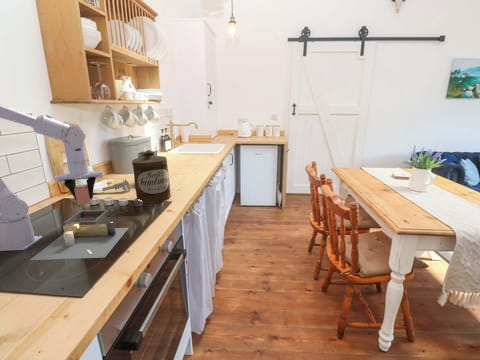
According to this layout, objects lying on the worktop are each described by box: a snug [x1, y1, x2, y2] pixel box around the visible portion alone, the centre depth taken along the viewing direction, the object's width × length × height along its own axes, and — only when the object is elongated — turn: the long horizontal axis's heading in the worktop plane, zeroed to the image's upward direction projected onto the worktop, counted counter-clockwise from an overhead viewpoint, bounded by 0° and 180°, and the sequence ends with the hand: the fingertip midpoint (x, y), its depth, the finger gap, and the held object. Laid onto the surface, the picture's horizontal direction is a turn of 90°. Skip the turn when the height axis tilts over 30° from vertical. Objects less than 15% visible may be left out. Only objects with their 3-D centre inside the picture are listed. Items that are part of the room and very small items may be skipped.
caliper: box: [101, 179, 131, 192], centre depth 129 cm, size 20×1×6 cm, turn 103°
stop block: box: [74, 183, 93, 206], centre depth 93 cm, size 4×4×6 cm
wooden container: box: [131, 149, 171, 204], centre depth 118 cm, size 15×15×22 cm
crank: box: [62, 220, 116, 239], centre depth 83 cm, size 15×4×4 cm, turn 92°
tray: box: [62, 209, 111, 226], centre depth 96 cm, size 11×11×2 cm
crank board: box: [30, 227, 129, 261], centre depth 80 cm, size 20×18×5 cm
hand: (84, 198), depth 94 cm, fingers closed on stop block, 4 cm apart
